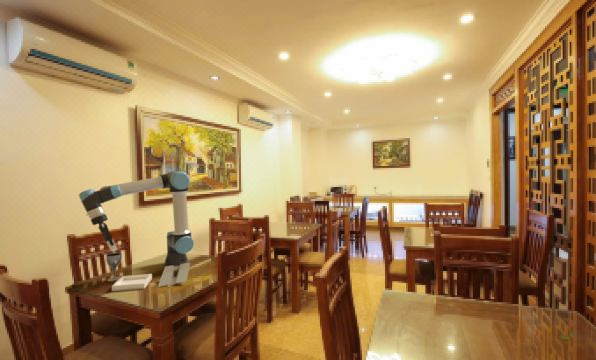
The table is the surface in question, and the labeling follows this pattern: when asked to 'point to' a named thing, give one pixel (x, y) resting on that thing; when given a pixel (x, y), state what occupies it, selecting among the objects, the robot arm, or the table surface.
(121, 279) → the tray
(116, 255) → the silver metal goblet
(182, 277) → the grey display stand
